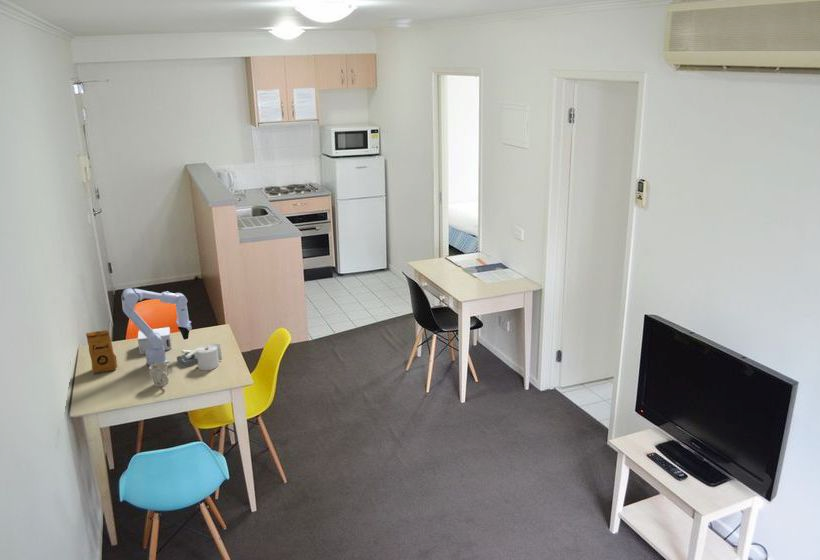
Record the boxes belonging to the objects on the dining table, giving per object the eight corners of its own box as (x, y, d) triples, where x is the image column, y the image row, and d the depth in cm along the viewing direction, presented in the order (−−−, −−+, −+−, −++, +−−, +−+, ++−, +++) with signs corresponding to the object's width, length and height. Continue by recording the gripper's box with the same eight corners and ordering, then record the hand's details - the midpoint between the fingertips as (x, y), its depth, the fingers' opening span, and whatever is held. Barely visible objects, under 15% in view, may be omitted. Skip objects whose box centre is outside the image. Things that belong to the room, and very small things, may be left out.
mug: (164, 378, 335) (161, 361, 332) (177, 385, 327) (175, 367, 324) (149, 385, 329) (146, 366, 325) (162, 392, 321) (159, 373, 318)
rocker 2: (188, 359, 349) (187, 357, 348) (185, 357, 351) (184, 355, 350) (197, 352, 352) (196, 350, 351) (195, 351, 354) (194, 349, 353)
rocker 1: (183, 353, 351) (183, 351, 351) (181, 352, 353) (181, 349, 353) (193, 354, 355) (194, 351, 355) (191, 352, 357) (191, 350, 357)
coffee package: (117, 371, 344) (110, 332, 337) (91, 375, 340) (83, 336, 333) (119, 364, 353) (112, 326, 346) (93, 367, 349) (86, 329, 342)
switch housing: (185, 367, 347) (183, 358, 345) (177, 362, 354) (176, 353, 352) (204, 360, 354) (203, 352, 353) (196, 355, 361) (195, 347, 359)
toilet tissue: (194, 370, 344) (192, 352, 341) (204, 360, 355) (202, 343, 352) (214, 370, 343) (212, 353, 339) (223, 360, 354) (221, 343, 351)
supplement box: (139, 354, 364) (137, 339, 361) (140, 345, 376) (137, 330, 373) (172, 349, 370) (169, 334, 367) (171, 341, 381) (169, 326, 378)
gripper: (195, 317, 352) (198, 340, 356) (183, 310, 362) (186, 333, 366) (183, 320, 347) (186, 344, 351) (171, 313, 357) (174, 336, 361)
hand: (185, 338), depth 358 cm, fingers closed
